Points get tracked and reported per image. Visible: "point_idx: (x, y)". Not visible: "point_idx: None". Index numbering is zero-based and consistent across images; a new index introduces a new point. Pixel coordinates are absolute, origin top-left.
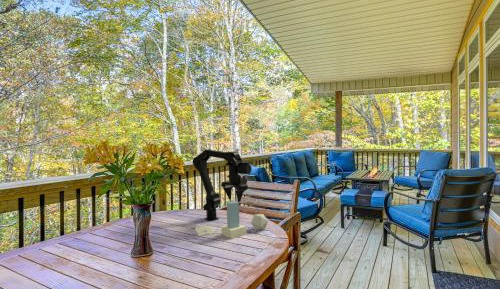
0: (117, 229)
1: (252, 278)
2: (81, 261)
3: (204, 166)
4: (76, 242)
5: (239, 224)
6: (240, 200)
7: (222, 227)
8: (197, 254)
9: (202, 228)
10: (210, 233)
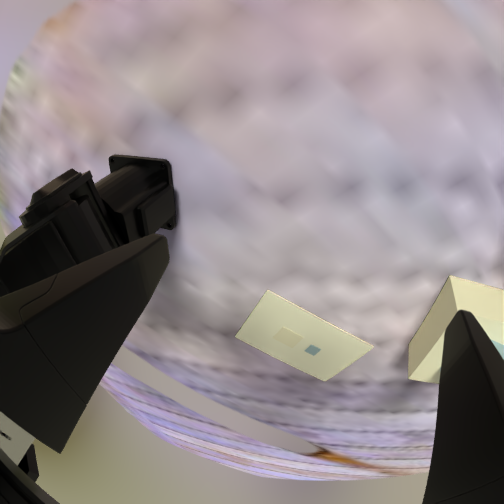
0: (118, 377)
1: None
2: (256, 460)
3: None
4: (163, 422)
5: (496, 323)
6: (479, 329)
7: (419, 378)
8: (426, 436)
9: (267, 331)
10: (356, 359)
